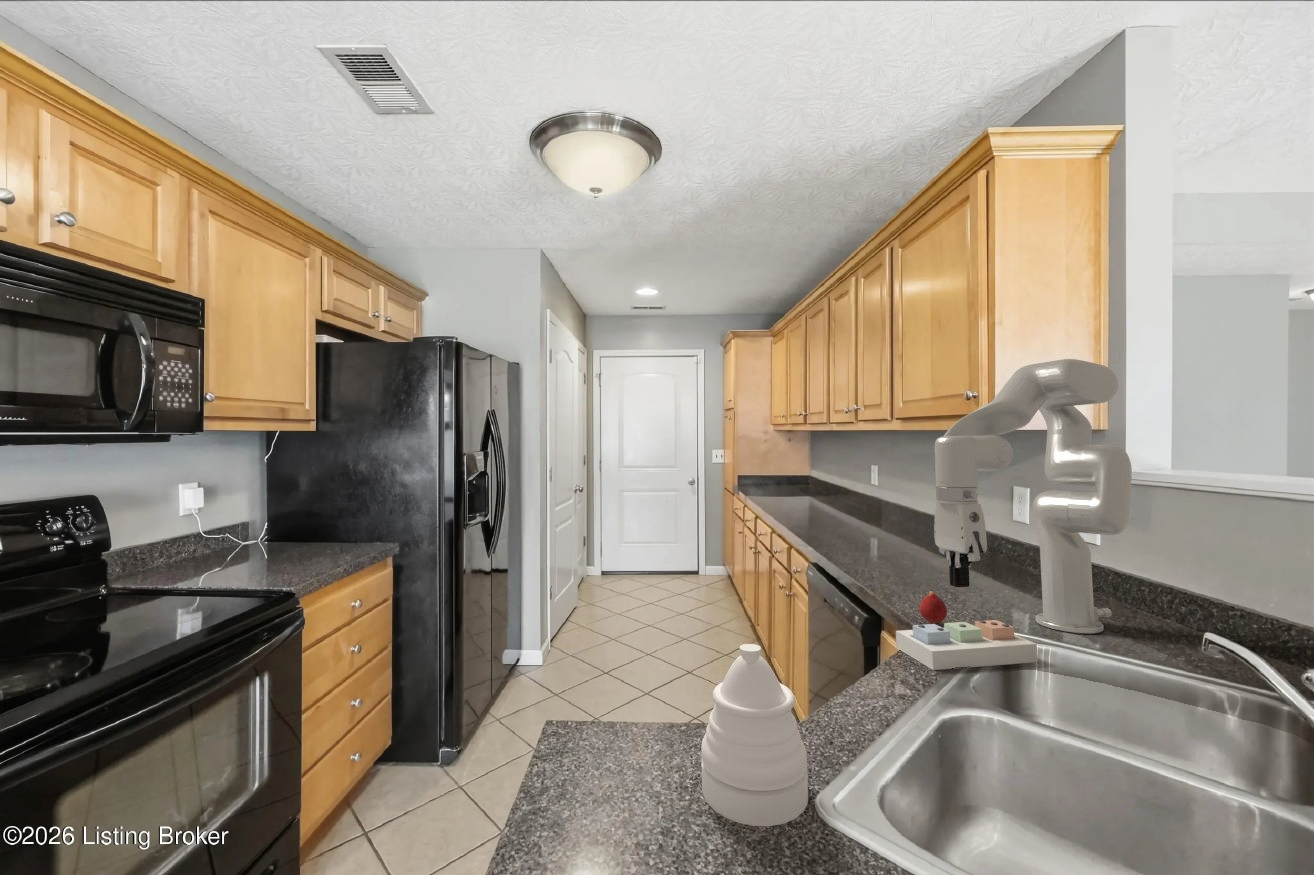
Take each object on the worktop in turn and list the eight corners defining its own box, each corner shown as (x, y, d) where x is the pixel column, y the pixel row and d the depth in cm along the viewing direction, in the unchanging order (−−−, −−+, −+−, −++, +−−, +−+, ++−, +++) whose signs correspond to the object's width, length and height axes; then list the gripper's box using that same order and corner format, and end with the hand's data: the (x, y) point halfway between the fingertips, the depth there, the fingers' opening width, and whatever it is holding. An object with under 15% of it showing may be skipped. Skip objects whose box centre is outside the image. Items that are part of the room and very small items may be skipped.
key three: (996, 634, 110) (995, 619, 110) (1014, 642, 106) (1013, 626, 106) (975, 635, 110) (974, 620, 110) (992, 643, 105) (992, 627, 105)
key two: (934, 638, 109) (934, 622, 109) (950, 646, 104) (949, 630, 104) (913, 640, 108) (912, 624, 108) (928, 648, 103) (927, 631, 103)
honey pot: (814, 832, 57) (809, 664, 58) (697, 820, 59) (693, 659, 60) (802, 764, 70) (798, 627, 71) (706, 756, 72) (703, 624, 73)
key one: (965, 636, 109) (965, 620, 110) (982, 644, 105) (982, 628, 105) (944, 637, 109) (943, 622, 109) (960, 646, 104) (960, 629, 104)
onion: (941, 621, 128) (939, 588, 128) (952, 629, 122) (950, 594, 122) (916, 621, 128) (915, 588, 129) (926, 629, 123) (924, 594, 123)
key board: (990, 641, 114) (990, 624, 114) (1037, 662, 102) (1036, 643, 102) (896, 647, 111) (895, 630, 111) (932, 670, 99) (932, 651, 99)
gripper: (1001, 498, 101) (1005, 594, 100) (948, 493, 116) (951, 577, 115) (965, 498, 100) (968, 596, 99) (917, 494, 115) (919, 578, 114)
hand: (959, 585), depth 107 cm, fingers closed
